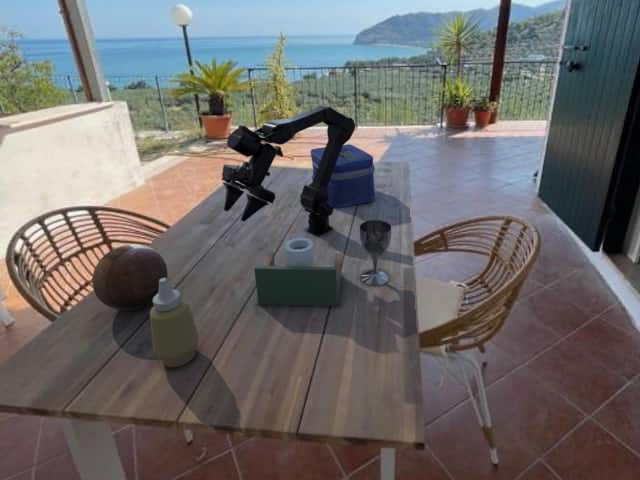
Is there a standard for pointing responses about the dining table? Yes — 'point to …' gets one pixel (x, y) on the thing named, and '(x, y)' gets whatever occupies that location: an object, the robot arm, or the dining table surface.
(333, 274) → the cubby cabinet
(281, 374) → the dining table surface
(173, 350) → the squeeze bottle
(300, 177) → the dining table surface
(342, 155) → the lunch bag
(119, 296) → the wooden sphere
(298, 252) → the storage jar
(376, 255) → the wine glass
